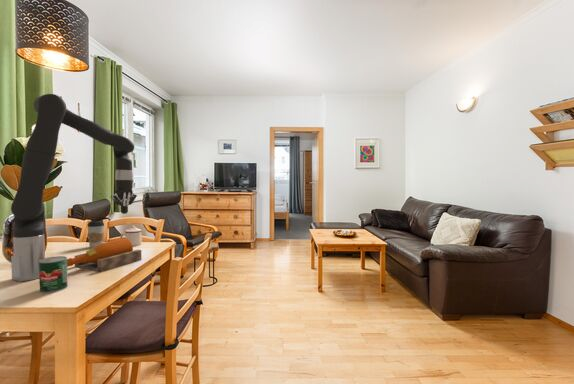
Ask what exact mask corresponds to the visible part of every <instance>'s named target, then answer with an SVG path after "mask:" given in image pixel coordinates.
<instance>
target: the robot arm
mask: <svg viewBox="0 0 574 384" xmlns="http://www.w3.org/2000/svg"><path fill="white" fill-rule="evenodd" d="M33 107H34V110H35V112H36V113H37V117H36V123H35V127H34V129H33V131H32V133H31V134H30V136H29V138H28V140H27V143H26V146H25V149H24V153H23V156H22V162H21V170H20V179H19V184H18V188H17V191H16V193H15V196H14V198H13V200H12V203H11V205H10V212H11V213H12V215H13V216H14V218H13V219H14V222H13V223H14V224H13V229H12V236H13V239H12V240H13V255H11V257H10V259H11V260H10V261H11V281H16V282H19V283H20V282H25V281H33V280H36V279H39V260H41V259H45V258H46V250H45V249H46V246H45V229H46V228H45V227H46V221H45V220H46V219H45V218H46V216H45V215H46V213H45V211H46V210H45V203H44V201H43V195H44V189H45V186H46V183H47V181H48V179H49V176H50V173H51V172H52V168H53V166H54V162H55V158H56V154H57V153H56V152H57V147H58V142H59V141H58V140H59V132H60V129H61V125H65V126H67V127H70V128H72V129H74V130H75V131H78V132H80V133H82V134H84V135H85V136H87V137H90V138H92V139H93V140H96V141H97V142H100V143H101V144H104V145H105V146H106V145H107V146H111V147H113V148H112V150H113V154H114V155H113V156H114V159H115V175H114V177H115V178H114V182H115V186H114V187H115V193H114V194H112V195H110V198H111V200H112V201H113V202H114V203H115V204H116V205H117V206H119V207H120V213H121V214H123V215H125V214H128V212H129V206H130V205H132V204H133V203H134V202H135V199H136V198H137V197H138V196H137V194H135V193H134V192H133V187H134V184H133V183H134V178H133V177H134V175H133V162H132V160H131V159H130V156H129V153H132V152H133V151H134V150H135V144H134V142H133V141H132V140H131V139H129V138H128V137H126V136H123V135H121V134H119V133H115V132H113V131H112V130H110V129H108V128H106V127H104V126H102V125H101V124H99V123H96V122H94V121H92V120H89V119H88V118H84V117H82V116H80V115H79V114H76V113H74V112H72V111H71V110H69V109H68V108H67V105H66V102H65V100H64V99H63V98H62V97H61V96H59V95H58V94H54V93H46V94H42V95H41V96H38V97H37V98H35V100H34V101H33Z"/></svg>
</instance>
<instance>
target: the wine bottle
mask: <svg viewBox="0 0 574 384" xmlns="http://www.w3.org/2000/svg"><path fill="white" fill-rule="evenodd" d="M133 247H134V246H132V243H131V242H130V240H128V239H125V238H123V239H121V238H118V239H114V240H110V241H106V242H103V243H102V244H99V245H97V246H96V247H94V248H90V249H89V250H88V249H87V250H85V252H84V253H81V254H82V255H81V256H79V257H76V258H75V257H73V258H72V257H69V258H67V268H68V267H73V266H74V265H75V264H78V263H83V262H88V263H97V260H99V259H103V258H107V257H111V256H115V255H119V254H122V253H126V252H130V251H134V250H133V249H134V248H133Z"/></svg>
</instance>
